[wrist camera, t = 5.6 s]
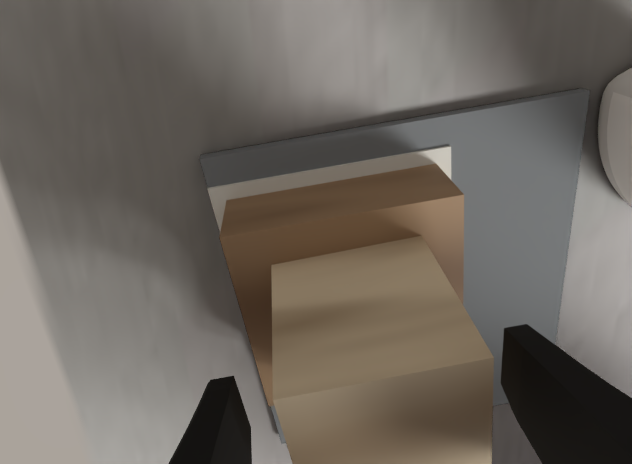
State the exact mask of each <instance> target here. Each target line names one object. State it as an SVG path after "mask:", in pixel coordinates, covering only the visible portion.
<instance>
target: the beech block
mask: <svg viewBox="0 0 632 464" xmlns="http://www.w3.org/2000/svg"><path fill="white" fill-rule="evenodd" d="M271 275H272V372H273V403H274V406H275V409H276V412H277V415H278V418H279V421H280V425H281V428H282V431H283V434H284V437H285V440H286V444H287V447H288V450H289V453H290V456H291V459H292V462H293V464H492V421H493V376H494V357H493V355H492V353H491V352H490V350H489V348H488V347H487V345H486V343H485V342H484V340H483V338H482V336H481V335H480V333H479V331H478V330H477V328H476V326H475V325H474V323H473V321H472V320H471V318H470V316H469V314H468V313H467V311H466V309H465V308H464V306H463V304H462V303H461V301H460V299H459V298H458V296H457V294H456V292H455V291H454V289H453V287H452V286H451V284H450V282H449V281H448V279H447V277H446V276H445V274H444V272H443V270H442V269H441V267H440V265H439V264H438V262H437V260H436V259H435V257H434V255H433V254H432V252H431V250H430V249H429V247H428V245H427V243H426V242H425V240H424V238H423V237H422V236H417V237H412V238H407V239H402V240H397V241H392V242H387V243H382V244H376V245H371V246H366V247H361V248H356V249H351V250H346V251H341V252H336V253H330V254H325V255H320V256H315V257H310V258H305V259H300V260H295V261H290V262H284V263H279V264H274V265H271Z"/></svg>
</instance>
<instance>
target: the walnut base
mask: <svg viewBox="0 0 632 464" xmlns="http://www.w3.org/2000/svg"><path fill="white" fill-rule="evenodd" d="M417 236H422V237H423V238H424V240H425V242H426V243H427V245H428V247H429V249H430V250H431V252H432V254H433V255H434V257H435V259H436V260H437V262H438V264H439V265H440V267H441V269H442V270H443V272H444V274H445V276H446V277H447V279H448V281H449V282H450V284H451V286H452V287H453V289H454V291H455V292H456V294H457V296H458V298H459V299H460V301H461V303H462V304H463V280H464V194H463V193H462V192H461V191H460V189H459V188H458V187H457V186H456V185H455V184H454V183H453V182H452V181H451V179H450V178H449V177H448V176H447V175H446V174H445V173H444V172H443V170H442V169H441V168H440V167H439V166H438V165H437V164H431V165H425V166H419V167H413V168H408V169H402V170H396V171H391V172H385V173H379V174H373V175H368V176H362V177H356V178H351V179H345V180H339V181H333V182H328V183H322V184H316V185H311V186H305V187H299V188H293V189H288V190H282V191H276V192H271V193H265V194H259V195H253V196H248V197H242V198H236V199H231V200H226V205H225V210H224V216H223V221H222V226H221V232H220V237H219V238H220V241H221V245H222V248H223V252H224V255H225V259H226V262H227V265H228V269H229V272H230V276H231V279H232V283H233V286H234V289H235V293H236V296H237V300H238V303H239V307H240V310H241V313H242V317H243V320H244V324H245V327H246V331H247V334H248V337H249V341H250V344H251V348H252V351H253V354H254V358H255V361H256V365H257V368H258V372H259V375H260V378H261V382H262V385H263V389H264V392H265V396H266V399H267V402H268V406H273V405H274V403H273V372H272V275H271V265H274V264H279V263H284V262H290V261H295V260H300V259H305V258H310V257H315V256H320V255H325V254H330V253H336V252H341V251H346V250H351V249H356V248H361V247H366V246H371V245H376V244H382V243H387V242H392V241H397V240H402V239H407V238H412V237H417Z"/></svg>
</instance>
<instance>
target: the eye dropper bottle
mask: <svg viewBox="0 0 632 464" xmlns="http://www.w3.org/2000/svg"><path fill="white" fill-rule="evenodd" d="M598 144H599V151H600V156H601V160H602V164H603V167H604V170H605V172H606V174H607V177H608V179H609V180H610V182H611V184H612V186H613V187H614V188H615V190H616V191H617V193H618V194H619V195H620V196H621V197H622V198H623V199H624V200H625V201H626V202H627V203H628V204H629V205H630V206H631V207H632V68H630V69H628V70H626V71H625V72H623V73H621V74H619V75H618V76H616V77H615V78H614V79H613V80H612V81H611V82H609V83H608V85H607V87H606V89H605V90H604V92H603V96H602V100H601V105H600V111H599V120H598Z"/></svg>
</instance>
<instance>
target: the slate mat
mask: <svg viewBox="0 0 632 464" xmlns="http://www.w3.org/2000/svg"><path fill="white" fill-rule="evenodd" d="M589 95H590V91H589V90H586V89H583V88H581V89H575V90H569V91H563V92H558V93H552V94H546V95H541V96H535V97H529V98H523V99H518V100H512V101H506V102H500V103H495V104H489V105H483V106H477V107H472V108H466V109H460V110H455V111H449V112H443V113H437V114H432V115H426V116H420V117H414V118H409V119H403V120H397V121H391V122H386V123H380V124H374V125H369V126H363V127H357V128H351V129H346V130H340V131H334V132H328V133H323V134H317V135H311V136H305V137H300V138H294V139H288V140H283V141H277V142H271V143H265V144H260V145H254V146H248V147H242V148H237V149H231V150H225V151H219V152H214V153H208V154H202V155H201V156H200V163H201V166H202V170H203V173H204V177H205V180H206V184H207V187H208V189H207V190H208V193H209V197H210V200H211V203H212V207H213V210H214V214H215V217H216V221H217V224H218V228H219V231H220V232H221V226H222V221H223V216H224V210H225V205H226V200H231V199H236V198H242V197H248V196H253V195H259V194H265V193H271V192H276V191H282V190H288V189H293V188H299V187H305V186H311V185H316V184H322V183H328V182H333V181H339V180H345V179H351V178H356V177H362V176H368V175H373V174H379V173H385V172H391V171H396V170H402V169H408V168H413V167H419V166H425V165H431V164H437V165H438V166H439V167H440V168H441V169H442V170H443V172H444V173H445V174H446V175H447V176H448V177H449V178H450V179H451V181H452V182H453V183H454V184H455V185H456V186H457V187H458V188H459V189H460V191H461V192H462V193H463V194H464V280H463V306H464V308H465V309H466V311H467V313H468V314H469V316H470V318H471V320H472V321H473V323H474V325H475V326H476V328H477V330H478V331H479V333H480V335H481V336H482V338H483V340H484V342H485V343H486V345H487V347H488V348H489V350H490V352H491V353H492V355H493V357H494V376H493V406H496V405H501V404H507V403H509V402H508V399H507V397H506V395H505V392H504V390H503V388H502V385H501V367H502V352H503V336H504V328H507V327H512V326H518V325H524V324H528V325H529V326H530V327H532V328H533V329H534V330H536V331H537V332H539V333H540V334H541V335H543V336H544V337H545V338H547V339H548V340H549V341H551V342H552V343H553V344H555V342H556V335H557V327H558V320H559V313H560V306H561V298H562V291H563V284H564V276H565V269H566V262H567V255H568V247H569V240H570V233H571V226H572V218H573V211H574V204H575V196H576V189H577V182H578V175H579V167H580V160H581V153H582V145H583V138H584V131H585V124H586V116H587V109H588V102H589ZM271 409H272V412H273V416H274V419H275V423H276V426H277V430H278V433H279V437H280V440H281V444H282V443H286V440H285V437H284V434H283V431H282V428H281V425H280V421H279V418H278V415H277V412H276V409H275V406H274V405H273V406H271Z"/></svg>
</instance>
